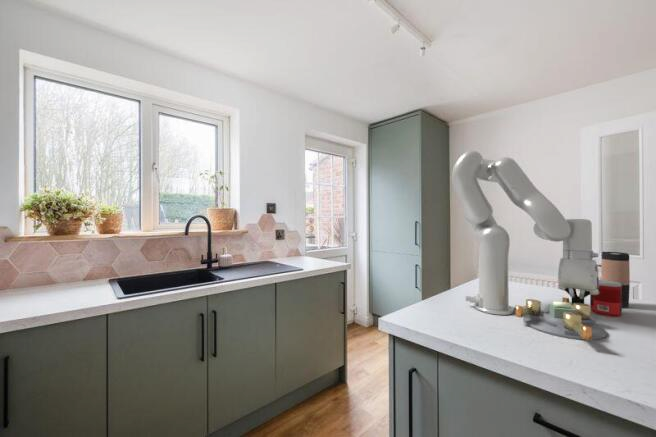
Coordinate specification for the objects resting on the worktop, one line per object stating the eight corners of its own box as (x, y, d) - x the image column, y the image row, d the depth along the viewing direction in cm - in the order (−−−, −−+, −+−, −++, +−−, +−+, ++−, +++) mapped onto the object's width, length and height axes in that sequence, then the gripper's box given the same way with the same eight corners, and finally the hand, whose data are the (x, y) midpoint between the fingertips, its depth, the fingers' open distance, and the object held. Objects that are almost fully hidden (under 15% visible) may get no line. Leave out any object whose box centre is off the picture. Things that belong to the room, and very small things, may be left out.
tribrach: (533, 334, 84) (533, 308, 84) (516, 312, 102) (516, 291, 102) (622, 344, 76) (622, 316, 76) (586, 318, 95) (586, 296, 95)
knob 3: (561, 324, 85) (560, 311, 85) (577, 326, 83) (577, 312, 83) (578, 340, 74) (578, 325, 74) (598, 342, 73) (598, 327, 73)
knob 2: (593, 320, 88) (593, 307, 88) (578, 319, 89) (578, 306, 89) (570, 308, 99) (570, 296, 99) (557, 307, 100) (557, 296, 100)
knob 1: (529, 310, 98) (529, 298, 98) (543, 313, 94) (543, 301, 94) (511, 316, 92) (510, 304, 92) (524, 320, 89) (524, 307, 89)
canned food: (628, 317, 96) (628, 285, 96) (600, 316, 97) (600, 284, 97) (610, 310, 103) (610, 280, 103) (585, 309, 105) (585, 279, 105)
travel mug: (595, 302, 113) (595, 251, 112) (615, 302, 112) (615, 251, 112) (614, 308, 105) (614, 254, 105) (635, 308, 105) (635, 254, 104)
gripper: (610, 256, 93) (611, 312, 93) (553, 252, 105) (554, 301, 105) (604, 258, 88) (605, 317, 88) (546, 254, 100) (547, 305, 101)
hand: (578, 308), depth 97 cm, fingers closed
